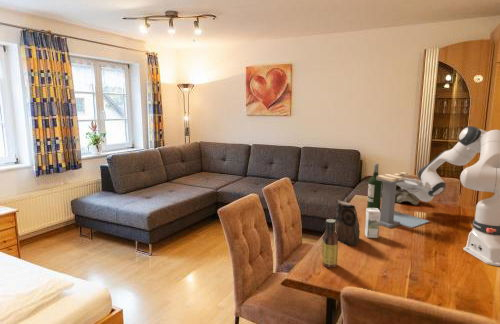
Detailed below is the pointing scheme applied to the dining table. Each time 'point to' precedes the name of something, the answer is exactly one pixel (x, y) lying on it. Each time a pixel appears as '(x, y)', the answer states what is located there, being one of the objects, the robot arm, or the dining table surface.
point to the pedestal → (388, 204)
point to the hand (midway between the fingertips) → (406, 178)
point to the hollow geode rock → (404, 196)
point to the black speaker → (347, 223)
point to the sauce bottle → (330, 245)
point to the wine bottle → (374, 190)
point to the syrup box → (372, 222)
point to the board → (393, 176)
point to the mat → (408, 220)
